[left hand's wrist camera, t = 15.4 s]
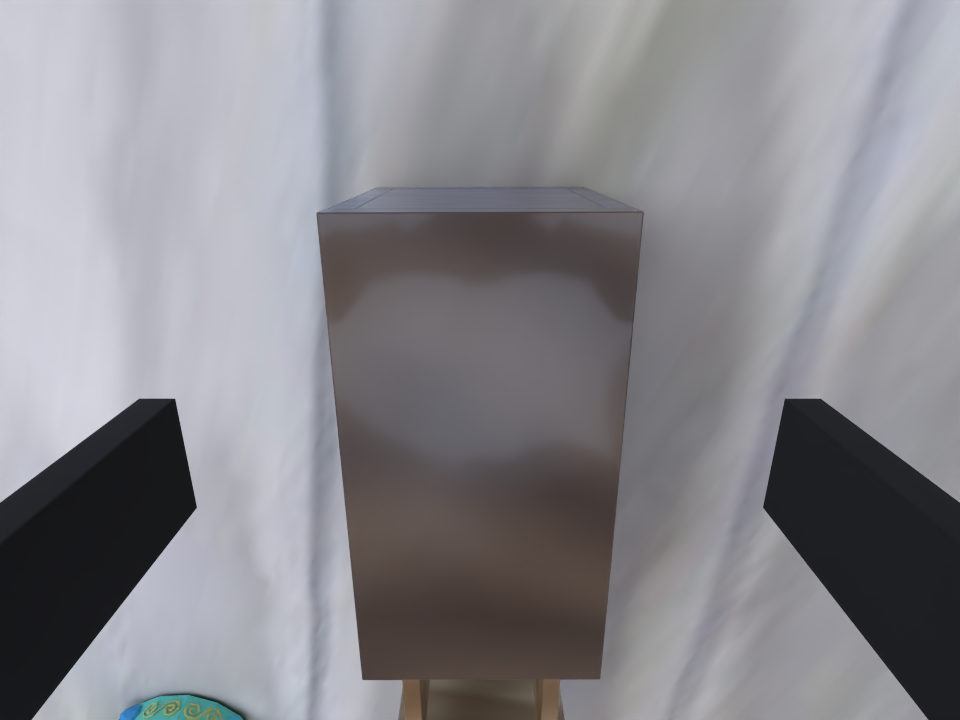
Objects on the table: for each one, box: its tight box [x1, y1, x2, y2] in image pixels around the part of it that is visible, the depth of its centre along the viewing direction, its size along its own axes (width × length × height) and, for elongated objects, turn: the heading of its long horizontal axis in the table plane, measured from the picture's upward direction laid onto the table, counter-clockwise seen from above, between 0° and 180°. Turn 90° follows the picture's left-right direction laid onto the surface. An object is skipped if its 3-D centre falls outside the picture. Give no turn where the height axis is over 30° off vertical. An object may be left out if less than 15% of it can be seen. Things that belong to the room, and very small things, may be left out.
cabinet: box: [317, 187, 643, 680], centre depth 26 cm, size 20×10×11 cm, turn 0°
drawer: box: [398, 679, 564, 720], centre depth 31 cm, size 24×9×9 cm, turn 0°
